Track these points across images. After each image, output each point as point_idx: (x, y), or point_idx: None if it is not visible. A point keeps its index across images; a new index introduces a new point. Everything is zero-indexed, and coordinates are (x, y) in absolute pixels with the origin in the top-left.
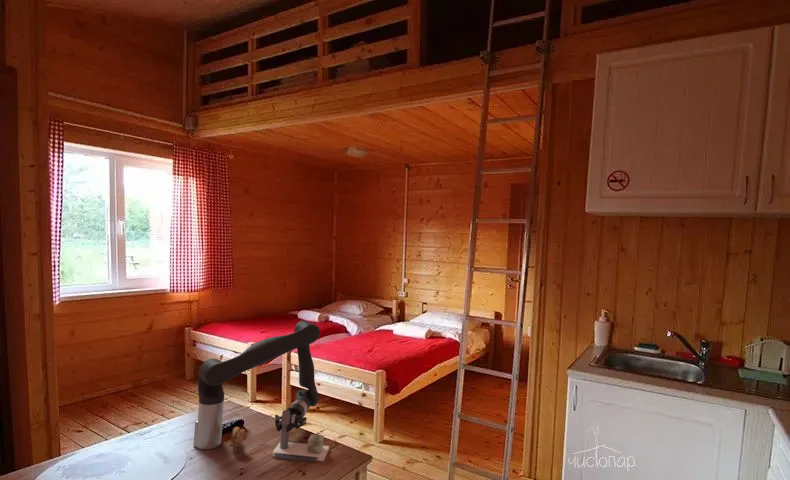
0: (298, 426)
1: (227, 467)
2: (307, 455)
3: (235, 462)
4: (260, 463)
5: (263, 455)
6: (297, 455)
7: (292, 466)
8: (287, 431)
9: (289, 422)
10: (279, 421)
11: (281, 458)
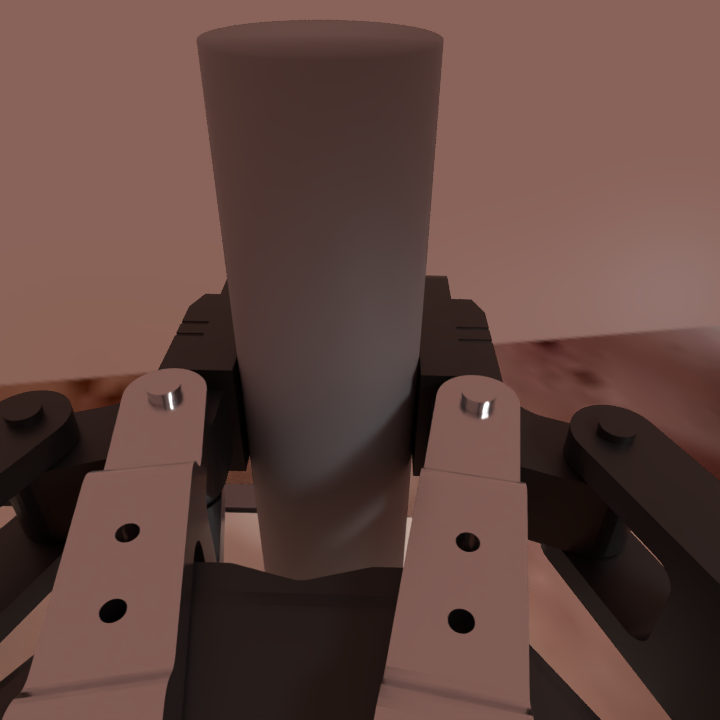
0: (20, 526)
1: (701, 377)
2: (3, 511)
3: (708, 431)
4: None
5: (547, 566)
6: None
7: None
8: None
9: (234, 328)
10: (540, 456)
11: None
